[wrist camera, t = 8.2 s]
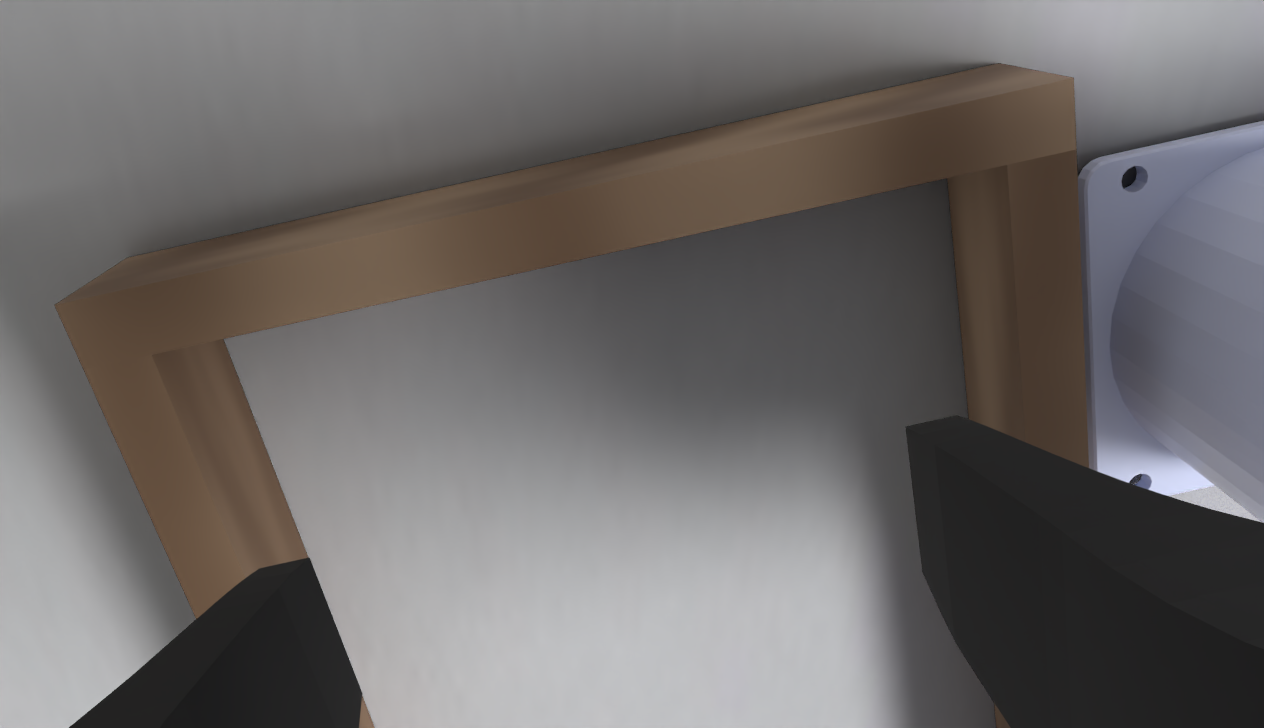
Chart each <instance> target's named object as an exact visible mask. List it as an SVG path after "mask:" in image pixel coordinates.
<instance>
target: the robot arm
mask: <svg viewBox="0 0 1264 728" xmlns="http://www.w3.org/2000/svg"><path fill="white" fill-rule="evenodd" d="M1133 166H1135V167H1136V170H1137V175H1136V180H1135V181H1134V182H1133V183H1132V184H1131V185H1130V186H1128V187H1126V188H1123V186H1122V183H1121V181H1122V177H1123V174H1124V173H1125V172H1126V171H1127V170H1128V169H1129V168H1131V167H1133ZM1078 200H1079V225H1080V251H1081V276H1082V301H1083V327H1084V352H1085V378H1086V403H1087V429H1088V454H1089V468H1087V467H1085V466H1082V465H1080V464H1077V463H1075V462H1072V461H1070V460H1067V459H1065V458H1062V457H1060V456H1057V455H1055V454H1052V453H1050V452H1048V451H1045V450H1043V449H1040V448H1038V447H1036V446H1033V445H1031V444H1028V443H1026V442H1024V441H1021V440H1019V439H1016V438H1014V437H1012V436H1009V435H1007V434H1005V433H1002V432H1000V431H997V430H995V429H992V428H990V427H988V426H985V425H982V424H980V423H977V422H975V421H972V420H969V419H966V418H963V417H960V416H953V417H948V418H944V419H939V420H934V421H930V422H925V423H921V424H916V425H912V426H907V427H906V434H907V443H908V452H909V460H910V469H911V478H912V486H913V495H914V503H915V512H916V521H917V529H918V538H919V547H920V555H921V564H922V572H923V574H924V576H925V579H926V581H927V583H928V585H929V587H930V590H931V592H932V594H933V596H934V598H935V601H936V603H937V605H938V607H939V609H940V612H941V614H942V616H943V618H944V620H945V622H946V624H947V626H948V628H949V630H950V632H951V634H952V636H953V638H954V640H955V642H956V644H957V645H958V647H959V649H960V650H961V652H962V653H963V655H964V657H965V658H966V660H967V661H968V663H969V664H970V666H971V667H972V669H973V671H974V672H975V674H976V675H977V677H978V678H979V680H980V681H981V683H982V685H983V686H984V688H985V689H986V691H987V692H988V694H989V695H990V697H991V699H992V700H993V702H994V703H995V705H996V706H997V708H998V709H999V711H1000V712H1001V714H1002V715H1003V717H1004V718H1005V720H1006V721H1007V723H1008V725H1009V726H1010V728H1264V121H1260V122H1255V123H1251V124H1246V125H1242V126H1237V127H1233V128H1228V129H1224V130H1219V131H1215V132H1210V133H1206V134H1201V135H1197V136H1192V137H1188V138H1183V139H1178V140H1174V141H1169V142H1165V143H1160V144H1156V145H1151V146H1147V147H1142V148H1138V149H1133V150H1129V151H1124V152H1120V153H1115V154H1111V155H1106V156H1102V157H1099V158H1096V159H1094V160H1092V161H1090V162H1089V163H1088V164H1087V165H1086V166H1085V167H1084V168H1083V169H1082V171H1081V173H1080V174H1079V176H1078ZM1138 474H1142V476H1141V479H1140V480H1139V481H1138V482H1137V483H1136V484H1134V485H1133V484H1130V483H1129V482H1130V480H1131V479H1132V478H1133V477H1134V476H1136V475H1138ZM1211 486H1216V487H1218V488H1219V489H1220V490H1221V491H1223V492H1224V493H1225V494H1227V495H1228V496H1229V497H1231V498H1232V499H1233V500H1234V501H1236V502H1237V503H1238V504H1240V505H1241V506H1242V507H1243V508H1245V509H1246V510H1247V511H1249V512H1250V513H1251V514H1252V515H1254V516H1255V517H1256V518H1258V519H1259V520H1260V521H1261V522H1258V521H1254V520H1250V519H1246V518H1242V517H1238V516H1234V515H1230V514H1227V513H1223V512H1219V511H1215V510H1211V509H1208V508H1204V507H1201V506H1198V505H1194V504H1191V503H1188V502H1184V501H1181V500H1178V499H1175V498H1172V497H1169V496H1170V495H1175V494H1179V493H1184V492H1188V491H1193V490H1198V489H1202V488H1207V487H1211ZM1262 522H1263V523H1262ZM361 702H362V692H361V689H360V686H359V684H358V681H357V679H356V676H355V674H354V671H353V668H352V666H351V663H350V661H349V658H348V656H347V653H346V650H345V648H344V645H343V643H342V640H341V638H340V635H339V632H338V630H337V627H336V625H335V622H334V620H333V617H332V615H331V612H330V609H329V607H328V604H327V602H326V599H325V597H324V594H323V591H322V589H321V586H320V584H319V581H318V579H317V576H316V573H315V571H314V568H313V566H312V563H311V561H310V558H304V559H300V560H295V561H291V562H286V563H281V564H277V565H272V566H268V567H263V568H259V569H258V570H256V571H255V572H253V573H252V574H251V575H249V576H248V577H246V578H245V579H244V580H242V581H241V582H240V583H238V584H237V585H236V586H235V587H233V588H232V589H231V590H230V591H229V592H227V593H226V594H225V595H224V596H223V597H221V598H220V599H219V600H218V601H217V602H216V603H214V604H213V605H212V606H211V607H210V608H209V609H207V610H206V611H205V612H204V613H203V614H202V615H201V616H200V617H198V618H197V619H196V620H195V621H194V622H193V623H192V624H190V625H189V626H188V627H187V628H186V629H185V630H184V631H182V632H181V633H180V634H179V635H178V636H177V637H176V638H175V639H173V640H172V641H171V642H170V643H169V644H168V645H167V646H165V647H164V648H163V649H162V650H161V651H160V652H159V653H157V654H156V655H155V656H154V657H153V658H152V659H151V660H149V661H148V662H147V663H146V664H145V665H144V666H143V667H142V668H140V669H139V670H138V671H137V672H136V673H135V674H133V675H132V676H131V677H130V678H129V679H128V680H126V681H125V682H124V683H123V684H121V685H120V686H119V687H118V688H117V689H115V690H114V691H113V692H112V693H111V694H109V695H108V696H107V697H106V698H104V699H103V700H102V701H101V702H100V703H98V704H97V705H96V706H95V707H94V708H92V709H91V710H90V711H89V712H87V713H86V714H85V715H84V716H83V717H81V718H80V719H79V720H78V721H77V722H75V723H74V724H73V725H72V726H70V727H69V728H359V722H360V712H361Z"/></svg>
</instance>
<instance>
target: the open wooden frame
mask: <svg viewBox="0 0 1264 728" xmlns="http://www.w3.org/2000/svg"><path fill="white" fill-rule="evenodd" d="M946 178H947V181H948V193H949V204H950V215H951V226H952V238H953V249H954V260H955V271H956V282H957V294H958V305H959V316H960V327H961V339H962V350H963V361H964V372H965V383H966V395H967V406H968V417H969V420H972V421H975V422H977V423H980V424H982V425H985V426H988V427H990V428H992V429H995V430H997V431H1000V432H1002V433H1005V434H1007V435H1009V436H1012V437H1014V438H1016V439H1019V440H1021V441H1024V442H1026V443H1028V444H1031V445H1033V446H1036V447H1038V448H1040V449H1043V450H1045V451H1048V452H1050V453H1052V454H1055V455H1057V456H1060V457H1062V458H1065V459H1067V460H1070V461H1072V462H1075V463H1077V464H1080V465H1082V466H1085V467H1087V468H1089V454H1088V429H1087V403H1086V378H1085V352H1084V327H1083V301H1082V276H1081V251H1080V225H1079V200H1078V174H1077V149H1076V123H1075V98H1074V78H1072V77H1067V76H1062V75H1056V74H1051V73H1046V72H1041V71H1036V70H1031V69H1026V68H1021V67H1016V66H1011V65H1006V64H1001V63H997V64H993V65H988V66H984V67H980V68H975V69H971V70H966V71H962V72H957V73H953V74H948V75H944V76H939V77H935V78H930V79H926V80H921V81H917V82H912V83H908V84H903V85H899V86H894V87H890V88H885V89H881V90H877V91H872V92H868V93H863V94H859V95H854V96H850V97H845V98H841V99H836V100H832V101H827V102H823V103H818V104H814V105H809V106H805V107H800V108H796V109H791V110H787V111H782V112H778V113H773V114H769V115H765V116H760V117H756V118H751V119H747V120H742V121H738V122H733V123H729V124H724V125H720V126H715V127H711V128H706V129H702V130H697V131H693V132H688V133H684V134H679V135H675V136H670V137H666V138H662V139H657V140H653V141H648V142H644V143H639V144H635V145H630V146H626V147H621V148H617V149H612V150H608V151H603V152H599V153H594V154H590V155H585V156H581V157H576V158H572V159H567V160H563V161H558V162H554V163H550V164H545V165H541V166H536V167H532V168H527V169H523V170H518V171H514V172H509V173H505V174H500V175H496V176H491V177H487V178H482V179H478V180H473V181H469V182H464V183H460V184H455V185H451V186H447V187H442V188H438V189H433V190H429V191H424V192H420V193H415V194H411V195H406V196H402V197H397V198H393V199H388V200H384V201H379V202H375V203H370V204H366V205H361V206H357V207H352V208H348V209H344V210H339V211H335V212H330V213H326V214H321V215H317V216H312V217H308V218H303V219H299V220H294V221H290V222H285V223H281V224H276V225H272V226H267V227H263V228H258V229H254V230H249V231H245V232H240V233H236V234H232V235H227V236H223V237H218V238H214V239H209V240H205V241H200V242H196V243H191V244H187V245H182V246H178V247H173V248H169V249H164V250H160V251H155V252H151V253H146V254H142V255H137V256H133V257H129V258H126V259H124V260H123V261H121V262H120V263H118V264H117V265H115V266H114V267H112V268H111V269H109V270H107V271H106V272H104V273H103V274H101V275H100V276H98V277H97V278H95V279H94V280H92V281H91V282H89V283H88V284H86V285H84V286H83V287H81V288H80V289H78V290H77V291H75V292H74V293H72V294H71V295H69V296H68V297H66V298H64V299H63V300H61V301H60V302H58V303H57V304H55V308H56V310H57V312H58V314H59V316H60V319H61V321H62V323H63V325H64V327H65V330H66V332H67V334H68V336H69V339H70V341H71V343H72V345H73V347H74V350H75V352H76V354H77V356H78V358H79V361H80V363H81V365H82V367H83V369H84V372H85V374H86V376H87V378H88V381H89V383H90V385H91V387H92V389H93V392H94V394H95V396H96V398H97V400H98V403H99V405H100V407H101V409H102V412H103V414H104V416H105V418H106V420H107V423H108V425H109V427H110V429H111V431H112V434H113V436H114V438H115V440H116V442H117V445H118V447H119V449H120V451H121V454H122V456H123V458H124V460H125V462H126V465H127V467H128V469H129V471H130V473H131V476H132V478H133V480H134V482H135V484H136V487H137V489H138V491H139V493H140V496H141V498H142V500H143V502H144V504H145V507H146V509H147V511H148V513H149V515H150V518H151V520H152V522H153V524H154V527H155V529H156V531H157V533H158V535H159V538H160V540H161V542H162V544H163V546H164V549H165V551H166V553H167V555H168V557H169V560H170V562H171V564H172V566H173V569H174V571H175V573H176V575H177V577H178V580H179V582H180V584H181V586H182V588H183V591H184V593H185V595H186V597H187V600H188V602H189V604H190V606H191V608H192V611H193V613H194V615H195V617H196V619H197V618H198V617H200V616H201V615H202V614H203V613H204V612H205V611H206V610H207V609H209V608H210V607H211V606H212V605H213V604H214V603H216V602H217V601H218V600H219V599H220V598H221V597H223V596H224V595H225V594H226V593H227V592H229V591H230V590H231V589H232V588H233V587H235V586H236V585H237V584H238V583H240V582H241V581H242V580H244V579H245V578H246V577H248V576H249V575H251V574H252V573H253V572H255V571H256V570H258V569H259V568H263V567H268V566H272V565H277V564H281V563H286V562H291V561H295V560H300V559H304V558H308V555H307V553H306V550H305V548H304V545H303V543H302V540H301V537H300V535H299V532H298V530H297V527H296V525H295V522H294V519H293V517H292V514H291V512H290V509H289V507H288V504H287V502H286V499H285V496H284V494H283V491H282V489H281V486H280V484H279V481H278V478H277V476H276V473H275V471H274V468H273V466H272V463H271V460H270V458H269V455H268V453H267V450H266V448H265V445H264V442H263V440H262V437H261V435H260V432H259V430H258V427H257V425H256V422H255V419H254V417H253V414H252V412H251V409H250V407H249V404H248V401H247V399H246V396H245V394H244V391H243V389H242V386H241V383H240V381H239V378H238V376H237V373H236V371H235V368H234V365H233V363H232V360H231V358H230V355H229V353H228V350H227V348H226V345H225V342H224V340H223V339H225V338H229V337H234V336H238V335H243V334H247V333H252V332H256V331H261V330H265V329H270V328H274V327H279V326H283V325H288V324H292V323H297V322H301V321H306V320H310V319H315V318H319V317H324V316H328V315H333V314H337V313H342V312H346V311H351V310H355V309H360V308H364V307H369V306H373V305H378V304H382V303H387V302H391V301H396V300H400V299H405V298H409V297H414V296H419V295H423V294H428V293H432V292H437V291H441V290H446V289H450V288H455V287H459V286H464V285H468V284H473V283H477V282H482V281H486V280H491V279H495V278H500V277H504V276H509V275H513V274H518V273H522V272H527V271H531V270H536V269H540V268H545V267H549V266H554V265H558V264H563V263H567V262H572V261H576V260H581V259H585V258H590V257H594V256H599V255H603V254H608V253H612V252H617V251H621V250H626V249H630V248H635V247H639V246H644V245H648V244H653V243H657V242H662V241H666V240H671V239H675V238H680V237H684V236H689V235H693V234H698V233H702V232H707V231H711V230H716V229H720V228H725V227H729V226H734V225H738V224H743V223H747V222H752V221H756V220H761V219H765V218H770V217H774V216H779V215H783V214H788V213H792V212H797V211H801V210H806V209H810V208H815V207H819V206H824V205H828V204H833V203H837V202H842V201H846V200H851V199H855V198H860V197H864V196H869V195H873V194H878V193H882V192H887V191H891V190H896V189H901V188H905V187H910V186H914V185H919V184H923V183H928V182H932V181H937V180H941V179H946ZM994 709H995V720H996V728H1010V726H1009V725H1008V723H1007V721H1006V720H1005V718H1004V717H1003V715H1002V714H1001V712H1000V711H999V709H998V708H997V706H996V705H995V703H994ZM359 728H375V727H374V725H373V722H372V720H371V717H370V715H369V712H368V709H367V707H366V704H365V702H364V699H363V697H362V702H361V712H360V722H359Z"/></svg>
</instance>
